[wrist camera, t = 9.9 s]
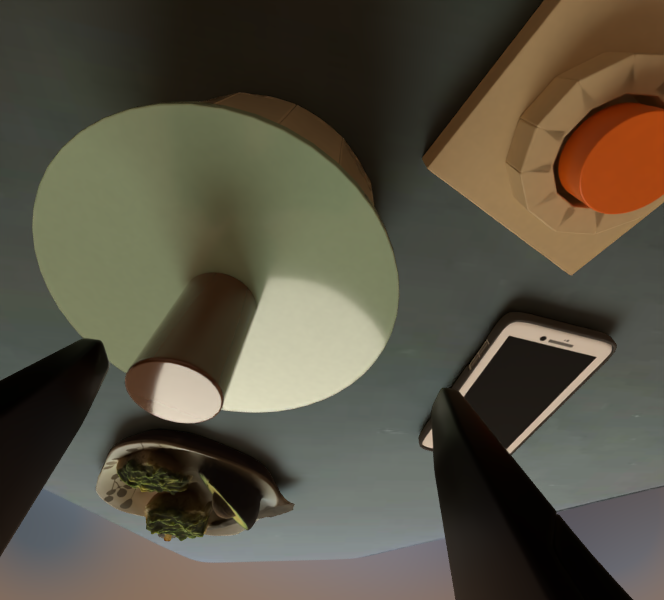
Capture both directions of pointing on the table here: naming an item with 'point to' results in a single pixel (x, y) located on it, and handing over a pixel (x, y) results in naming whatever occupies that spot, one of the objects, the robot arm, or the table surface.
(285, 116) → the pot
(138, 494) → the salad plate
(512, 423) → the cell phone
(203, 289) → the lid
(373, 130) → the table surface
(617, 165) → the button
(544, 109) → the control block
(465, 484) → the robot arm
